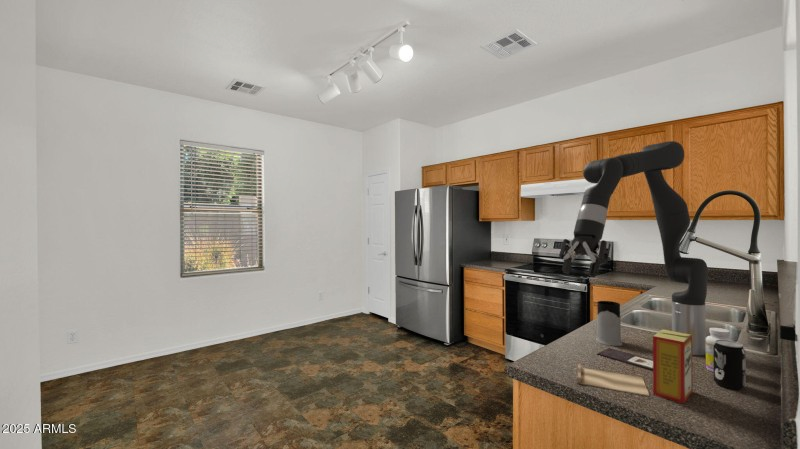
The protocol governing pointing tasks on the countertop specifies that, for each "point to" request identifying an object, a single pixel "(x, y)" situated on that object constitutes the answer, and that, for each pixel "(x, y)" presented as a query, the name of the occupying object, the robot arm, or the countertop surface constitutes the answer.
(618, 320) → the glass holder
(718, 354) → the beverage can
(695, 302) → the robot arm
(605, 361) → the countertop surface
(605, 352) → the chocolate bar
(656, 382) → the baking soda box
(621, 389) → the wooden board
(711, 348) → the supplement bottle
